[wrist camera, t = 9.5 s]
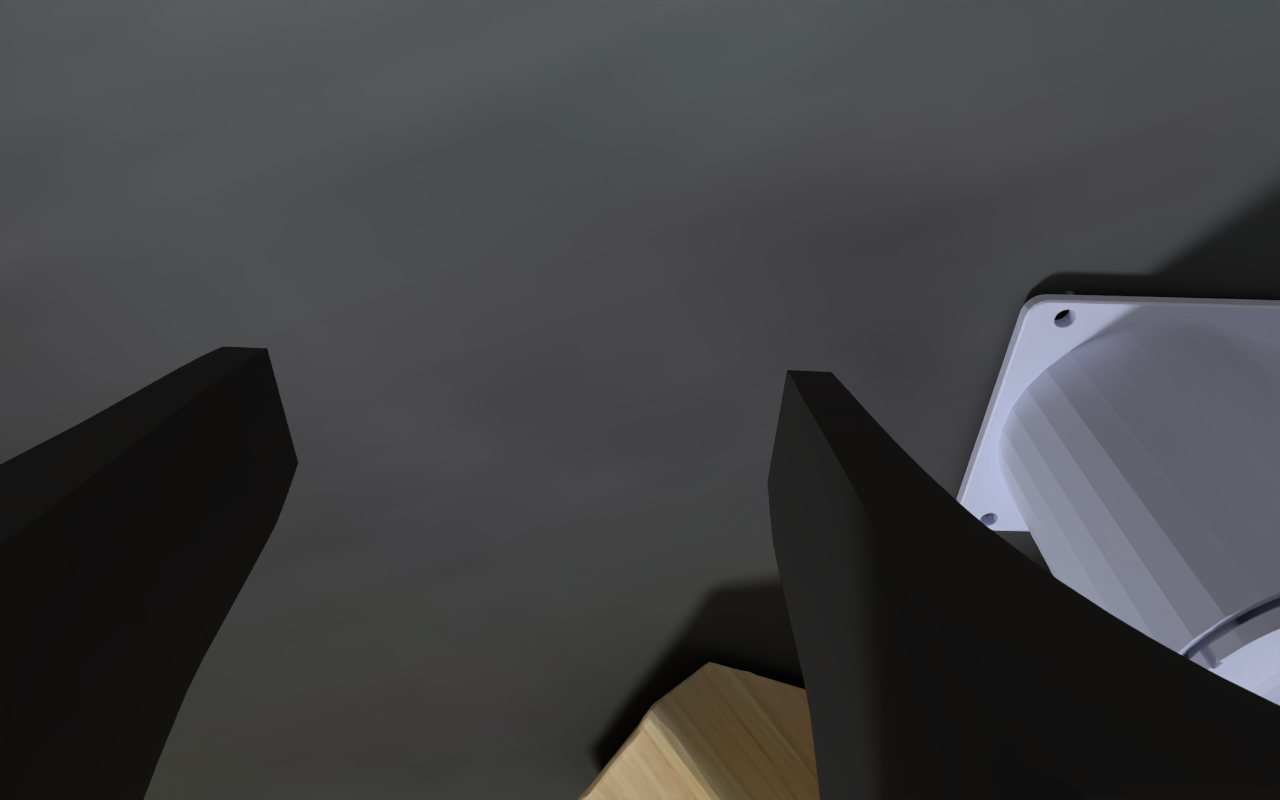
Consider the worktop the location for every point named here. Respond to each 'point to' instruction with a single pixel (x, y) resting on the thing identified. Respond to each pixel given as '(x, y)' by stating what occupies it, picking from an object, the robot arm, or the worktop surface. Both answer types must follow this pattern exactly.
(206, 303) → the worktop surface
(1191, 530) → the robot arm
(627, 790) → the knife block
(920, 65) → the worktop surface
